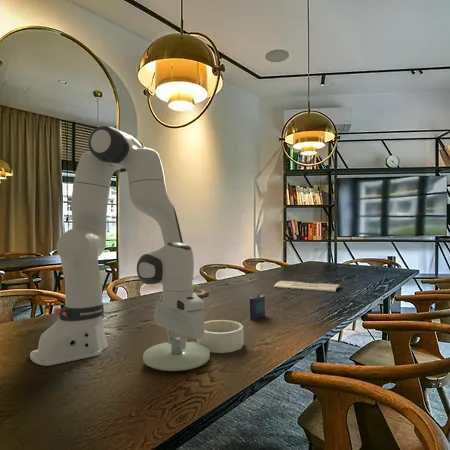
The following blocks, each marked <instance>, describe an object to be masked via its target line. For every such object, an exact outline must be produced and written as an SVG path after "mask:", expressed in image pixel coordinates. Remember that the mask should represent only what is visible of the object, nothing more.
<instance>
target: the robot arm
mask: <svg viewBox="0 0 450 450" xmlns="http://www.w3.org/2000/svg"><path fill="white" fill-rule="evenodd" d="M87 144H88V149H89V150H88V151H85V152H83V153H82V154H81V156H80V158H79V160H78V163H77V167H76V169H75V175H74V180H73V186H72V187H73V188H72V192H71V199H70V210H71V211H70V212H71V219H72V220H71V221H72V224H71V225H72V227H71V228H70V229H69V230H66V232H64V233H62V235H60V237H59V238H58V240H57V242H56V251H57V255H58V256H59V257H60V262H61V268H62V272H63V276H64V289H65V290H64V291H65V292H64V293H65V295H64V296H65V298H64V300H65V305H64V306H63V307H62V308H60V307H55V308H54V309H53V313H54V315H56V316H57V315H58V316H59V317H58V320H57V321H55V322H54V323H53V324H52V325H50V327H48V328H47V329H46V330H45V331H44V332H42V333H41V335H40V337H39V340H38V347H37V349H35V350H34V349H33V350H32V351H31V352H30V354H29V360H30V361H32V362H33V363H34V364H36V365H40V366H45V367H47V366H48V367H50V366H53V365H58V364H62V363H63V364H64V363H67V362H71V361H72V362H74V361H78V360H81V359H88V358H91V357H97V356H100V355H101V354H102V352H103V351H104V350H106V349H107V347H108V346H109V344H108V341H107V337H106V333H105V327H104V317H105V316H104V315H105V308H104V307H105V306H104V302H103V278H102V276H101V271H100V266H99V257H100V256H101V255H102V254H103V252H104V251H105V250H106V249H105V248H106V245H107V241H106V240H107V214H108V213H107V212H108V204H109V199H110V198H109V197H110V189H111V184H112V183H111V182H112V177H113V175H114V173H115V172H116V171H117V172H119V173H124V172H126V173H127V179H128V191H129V198H130V201H131V203H132V205H133V206H134V207H135V208H136V209H137V210H138V211H140V212H141V213H143V214H145V215H146V216H148V217H150V218H151V219H153V220H154V221H156V223H157V224H158V225H159V228H160V232H161V235H162V240H163V244H164V245H163V246H162V247H161V248H158V249H157V250H153V251H151V252H147V253H145V254H142V255H141V256H140V258H138V261H137V263H136V273H137V276H138V279H139V281H141V283H143V284H145V285H149V286H150V285H151V286H152V285H159V284H160V285H162V293H160V294H159V295H158V297H157V300H156V303H155V307H154V313H153V321H154V324H155V325H157V326H159V327H162V328H164V329H165V331H166V336H167V338H168V342H169V344H170V345H171V339H172V338H175V333H177V334H179V337H180V338H181V340H180V342H178V348H179V349H181V350H182V349H185V348H186V342H188V339H191V340H197V338H201V337H202V336H203V334H204V322H205V313H204V310H203V309H204V308H205V306H206V305H205V304H206V303H205V301H204V300H203V298H199V297H198V296H197V295H196V294H195V293H194V292H193V284H194V283H193V280H192V278H194V277H193V276H194V275H195V274H194V273H195V272H194V271H195V268H194V267H195V266H194V265H195V264H194V263H195V262H194V252H193V249H192V247H191V246H190V245H189V244H187V243H184V241H183V236H182V232H181V228H180V223H179V220H178V215H177V211H176V208H175V206H174V205H173V204H172V202H171V200H170V198H169V195H168V191H167V185H166V179H165V174H164V173H165V172H164V168H163V164H162V161H161V158H160V154H159V153H158V152H157V151H156V150H155V149H153V148H151V147H150V148H149V147H145V145H144V144H143V143H142V142H141V141H140V140H138V139H137V138H135V137H133V135H131V134H129V133H127V132H124V131H121V130H119V129H117V128H115V127H114V126H109V125H102V126H99V127H96V128H95V129H93V131H92V132H91V133H90V135H89V138H88V143H87Z"/></svg>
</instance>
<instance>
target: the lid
mask: <svg viewBox="0 0 450 450" xmlns="http://www.w3.org/2000/svg"><path fill="white" fill-rule="evenodd" d="M180 340H181V338H180V336H178V337H175V338H172V339H171V345H170V344H169V341H167V342H161V343H158V344H155V345H152V346H150V347H148V348H146V350H145V351H143V355H142V360H143V363H144V365H146V366H147V367H149V368H152V369H153V370H159V371H168V372H178V371H179V372H180V371H187V370H192V369H195V368H199V367H202V366H203V365H205V364H206V363H208V361H209V360H210V356H211V355H210V354H211V352H210V351H209V349H208V348H207V347H205V346H203V345H201V344H197V342H192V341H191V342H190V341H187V342H186V348H185V349H182V350H181V349H179V348H178V342H180Z"/></svg>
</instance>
